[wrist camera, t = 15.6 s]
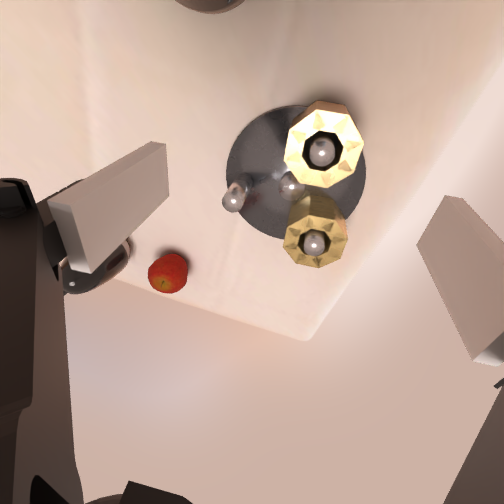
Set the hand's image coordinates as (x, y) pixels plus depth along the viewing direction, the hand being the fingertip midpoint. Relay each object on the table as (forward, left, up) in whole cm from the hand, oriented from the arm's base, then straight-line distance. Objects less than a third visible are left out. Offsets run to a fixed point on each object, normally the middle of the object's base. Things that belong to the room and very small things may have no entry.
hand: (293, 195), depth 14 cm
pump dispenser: (-35, -33, -32) cm, 58 cm away
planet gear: (+5, -18, -31) cm, 36 cm away
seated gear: (+3, -5, -31) cm, 31 cm away
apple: (-21, -35, -32) cm, 52 cm away
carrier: (0, -12, -32) cm, 34 cm away
